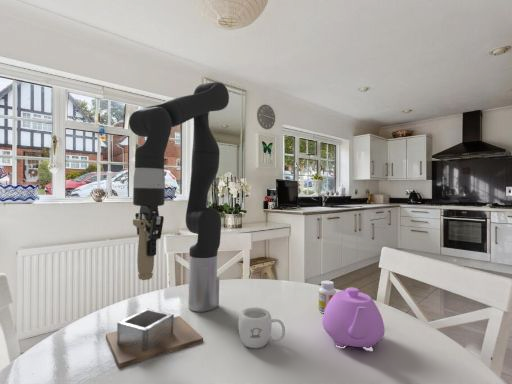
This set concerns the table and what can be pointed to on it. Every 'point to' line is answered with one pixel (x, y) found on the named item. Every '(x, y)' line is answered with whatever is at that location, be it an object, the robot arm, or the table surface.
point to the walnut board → (177, 340)
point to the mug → (257, 327)
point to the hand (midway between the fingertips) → (148, 253)
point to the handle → (143, 252)
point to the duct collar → (145, 329)
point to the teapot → (353, 319)
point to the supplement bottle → (325, 294)
